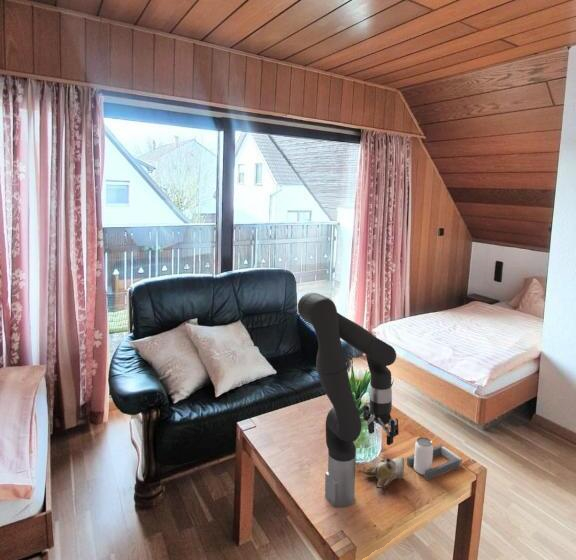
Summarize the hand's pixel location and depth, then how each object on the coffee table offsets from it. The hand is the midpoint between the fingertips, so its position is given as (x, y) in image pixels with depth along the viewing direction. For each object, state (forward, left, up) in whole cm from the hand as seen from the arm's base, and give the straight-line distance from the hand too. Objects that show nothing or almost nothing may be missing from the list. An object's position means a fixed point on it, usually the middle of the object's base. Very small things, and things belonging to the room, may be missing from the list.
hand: (380, 438), depth 152 cm
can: (+20, -2, -18) cm, 27 cm away
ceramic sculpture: (+4, 0, -19) cm, 19 cm away
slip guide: (+26, -2, -18) cm, 32 cm away
